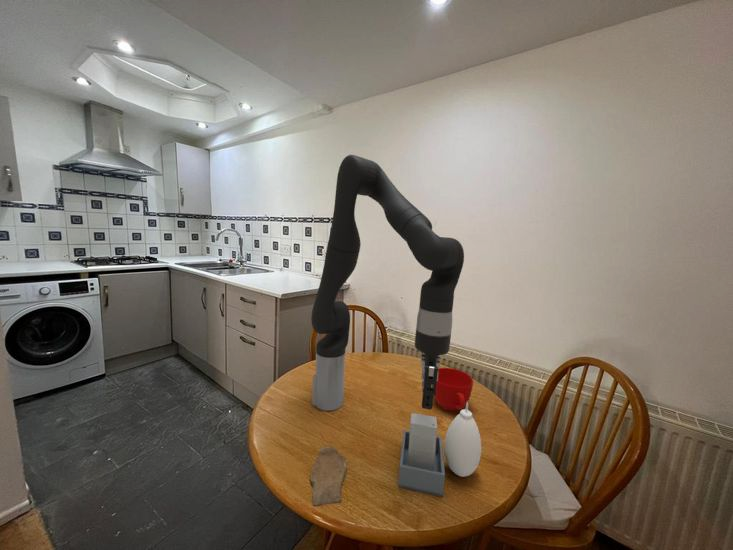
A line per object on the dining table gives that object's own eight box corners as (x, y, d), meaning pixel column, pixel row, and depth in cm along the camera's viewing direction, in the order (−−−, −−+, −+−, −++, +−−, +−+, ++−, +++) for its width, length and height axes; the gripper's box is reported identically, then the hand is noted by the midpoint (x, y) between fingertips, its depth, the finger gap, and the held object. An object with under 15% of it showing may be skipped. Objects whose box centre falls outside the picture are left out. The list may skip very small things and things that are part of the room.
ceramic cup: (438, 425, 83) (441, 393, 81) (425, 393, 99) (427, 366, 98) (482, 426, 83) (485, 395, 82) (461, 394, 100) (464, 368, 98)
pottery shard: (308, 457, 70) (311, 509, 56) (308, 447, 70) (311, 497, 56) (341, 453, 72) (352, 502, 58) (342, 444, 72) (353, 490, 58)
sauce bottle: (484, 477, 65) (493, 405, 63) (462, 492, 61) (471, 416, 58) (457, 455, 71) (464, 388, 69) (435, 467, 67) (442, 397, 65)
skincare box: (433, 462, 68) (437, 416, 66) (433, 476, 64) (437, 428, 62) (407, 457, 69) (411, 412, 67) (406, 470, 65) (410, 423, 63)
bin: (398, 486, 61) (399, 466, 61) (402, 447, 73) (403, 429, 72) (442, 496, 59) (444, 475, 59) (439, 454, 71) (441, 436, 70)
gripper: (454, 342, 54) (445, 419, 56) (448, 321, 68) (441, 384, 70) (415, 337, 55) (408, 413, 58) (417, 317, 69) (411, 379, 71)
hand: (426, 397), depth 64 cm, fingers open, 8 cm apart
